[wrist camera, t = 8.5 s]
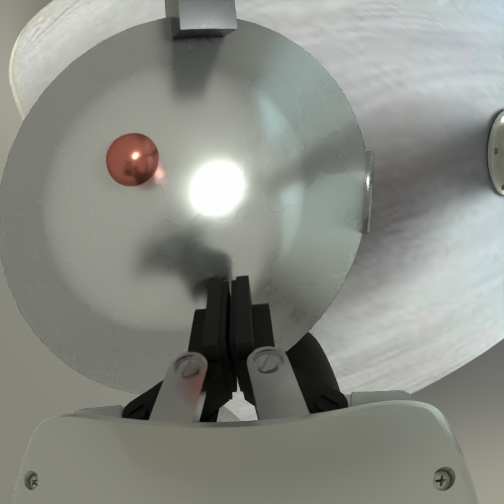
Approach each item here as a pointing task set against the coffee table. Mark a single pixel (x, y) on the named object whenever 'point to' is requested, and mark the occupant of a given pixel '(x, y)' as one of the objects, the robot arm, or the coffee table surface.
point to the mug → (312, 360)
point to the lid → (180, 191)
